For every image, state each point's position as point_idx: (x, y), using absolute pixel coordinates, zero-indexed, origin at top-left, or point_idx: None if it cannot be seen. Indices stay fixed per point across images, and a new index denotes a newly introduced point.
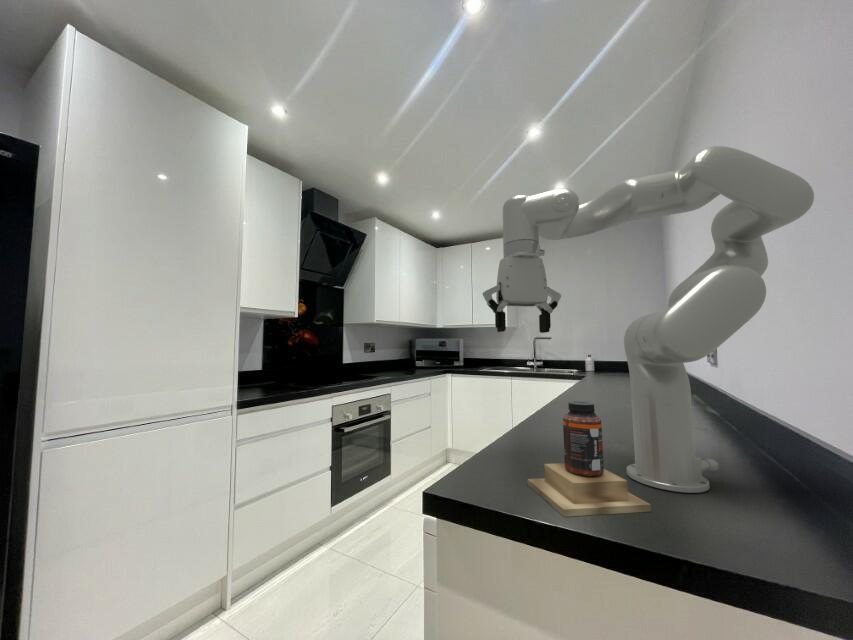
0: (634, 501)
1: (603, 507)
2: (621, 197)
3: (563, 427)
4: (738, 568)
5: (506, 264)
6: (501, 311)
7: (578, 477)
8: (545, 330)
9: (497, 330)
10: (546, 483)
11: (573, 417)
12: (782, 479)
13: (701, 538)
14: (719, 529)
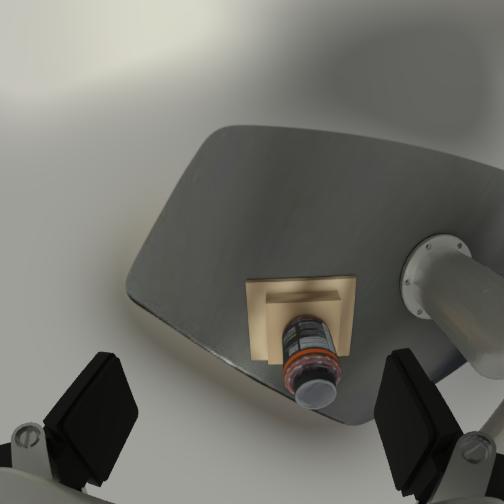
0: (338, 349)
1: None
2: None
3: (285, 361)
4: (331, 412)
5: None
6: (79, 475)
7: None
8: (375, 411)
9: (99, 355)
10: (265, 299)
11: (290, 391)
12: None
13: (345, 387)
14: (373, 376)
